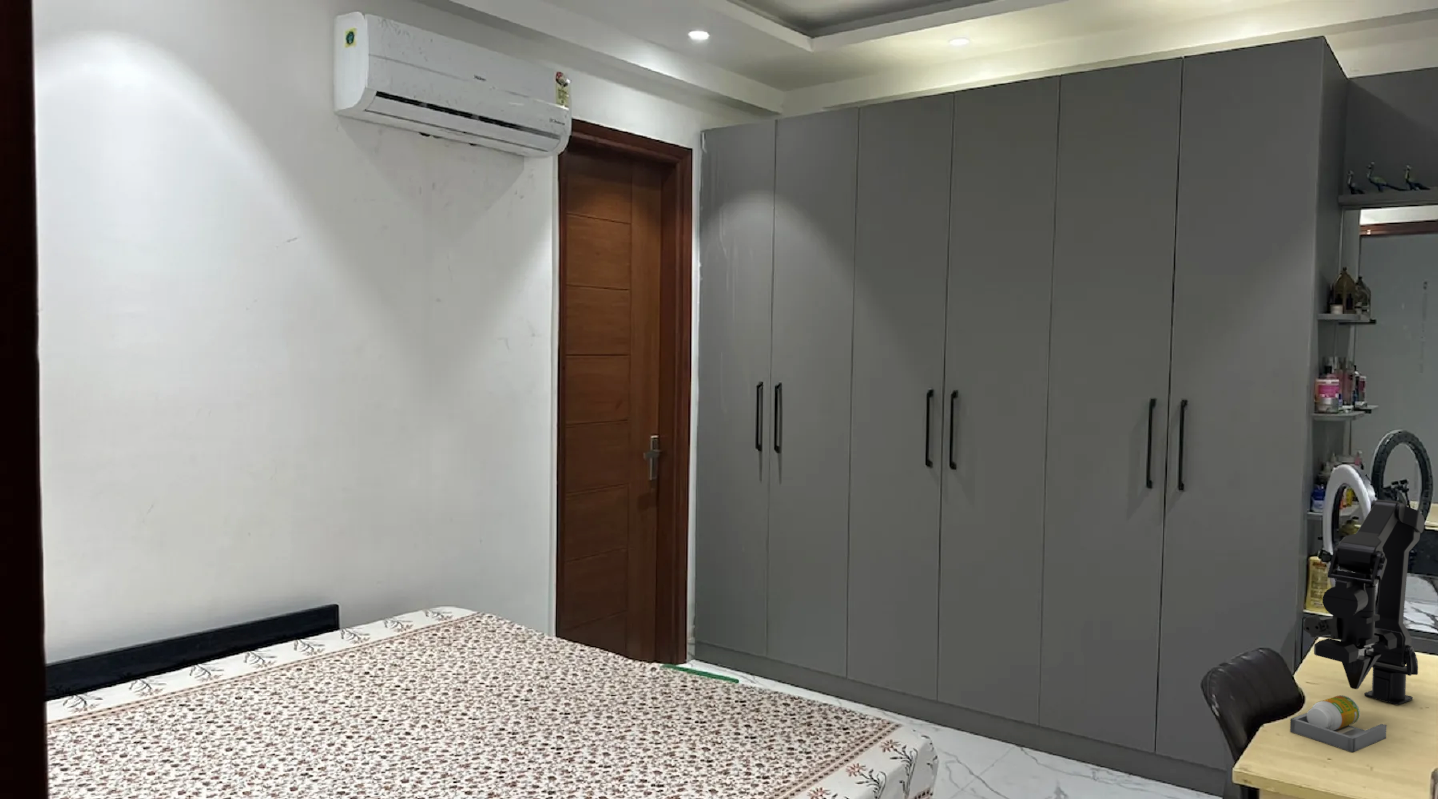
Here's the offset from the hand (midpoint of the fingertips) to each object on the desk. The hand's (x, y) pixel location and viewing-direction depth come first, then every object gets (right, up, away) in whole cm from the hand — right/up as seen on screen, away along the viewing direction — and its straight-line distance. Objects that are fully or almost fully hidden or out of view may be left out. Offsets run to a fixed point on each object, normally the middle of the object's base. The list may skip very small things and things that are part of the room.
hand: (1354, 688), depth 186 cm
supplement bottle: (-1, -4, +1) cm, 5 cm away
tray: (-5, -8, -3) cm, 10 cm away
